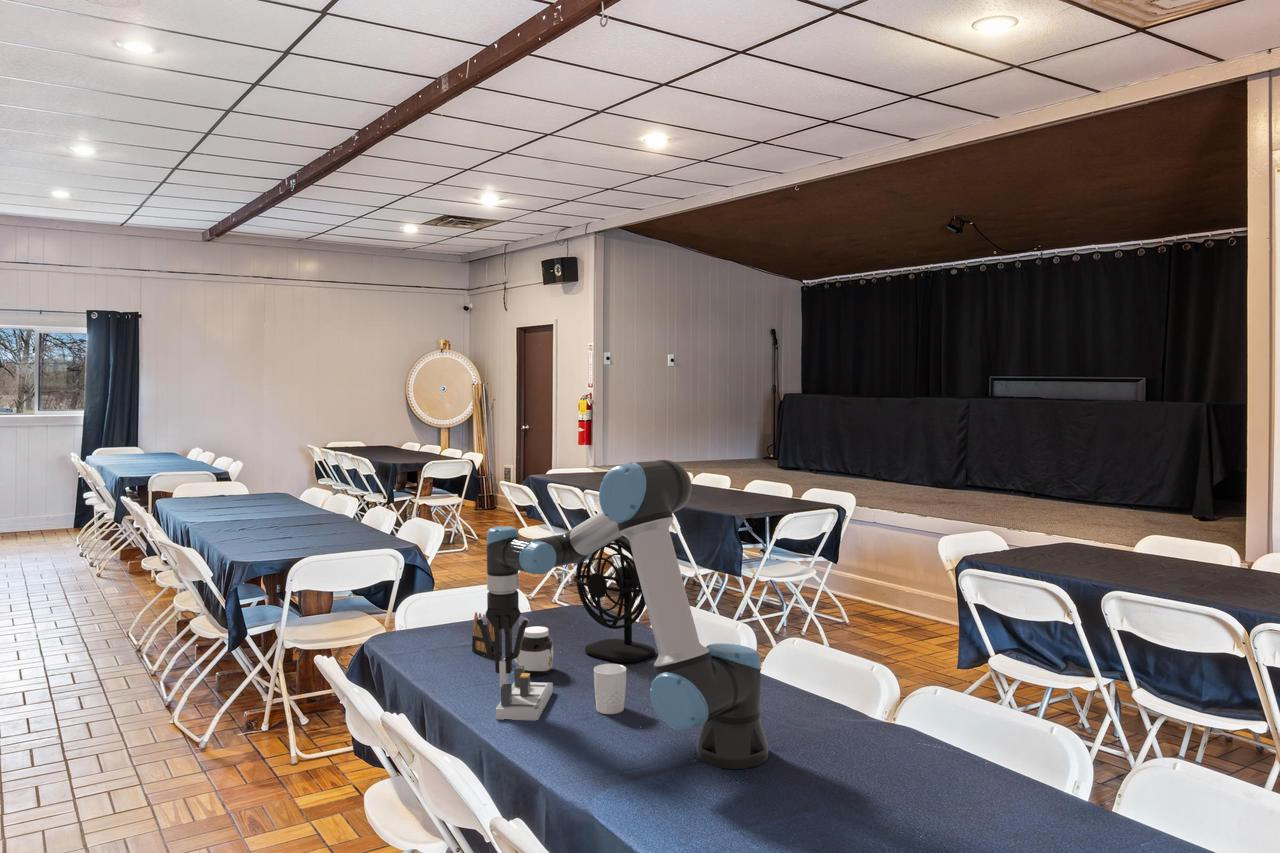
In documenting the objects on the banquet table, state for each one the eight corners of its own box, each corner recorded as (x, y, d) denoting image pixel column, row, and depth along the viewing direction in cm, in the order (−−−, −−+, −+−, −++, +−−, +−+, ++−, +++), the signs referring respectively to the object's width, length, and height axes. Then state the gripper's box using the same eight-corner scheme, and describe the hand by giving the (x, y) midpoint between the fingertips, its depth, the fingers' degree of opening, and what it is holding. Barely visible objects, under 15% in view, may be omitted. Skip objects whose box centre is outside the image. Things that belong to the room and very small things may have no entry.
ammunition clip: (500, 658, 258) (500, 616, 257) (495, 659, 257) (495, 618, 256) (476, 651, 265) (476, 610, 265) (471, 652, 264) (471, 611, 263)
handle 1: (509, 705, 212) (509, 687, 212) (501, 705, 212) (500, 687, 212) (511, 702, 215) (511, 684, 214) (503, 702, 215) (503, 683, 215)
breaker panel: (537, 720, 210) (537, 709, 210) (495, 719, 211) (495, 708, 211) (552, 692, 229) (552, 682, 229) (514, 691, 230) (513, 681, 230)
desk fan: (562, 652, 264) (561, 533, 262) (603, 639, 277) (602, 526, 275) (632, 671, 246) (632, 544, 245) (672, 656, 260) (672, 535, 258)
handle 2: (522, 685, 226) (522, 668, 226) (514, 685, 226) (514, 668, 226) (524, 682, 229) (524, 665, 228) (516, 682, 229) (516, 665, 228)
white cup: (622, 716, 213) (622, 675, 212) (590, 714, 214) (589, 672, 214) (629, 704, 221) (629, 664, 220) (598, 702, 222) (598, 662, 222)
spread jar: (540, 679, 240) (540, 635, 239) (503, 674, 244) (502, 631, 243) (560, 665, 251) (559, 624, 251) (523, 661, 255) (523, 620, 255)
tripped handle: (528, 695, 219) (528, 676, 219) (520, 695, 219) (519, 676, 219) (530, 692, 221) (530, 673, 221) (522, 692, 221) (522, 673, 221)
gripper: (532, 587, 223) (533, 681, 224) (480, 586, 224) (481, 680, 225) (526, 594, 215) (527, 691, 216) (472, 593, 216) (473, 690, 217)
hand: (503, 685), depth 220 cm, fingers closed
